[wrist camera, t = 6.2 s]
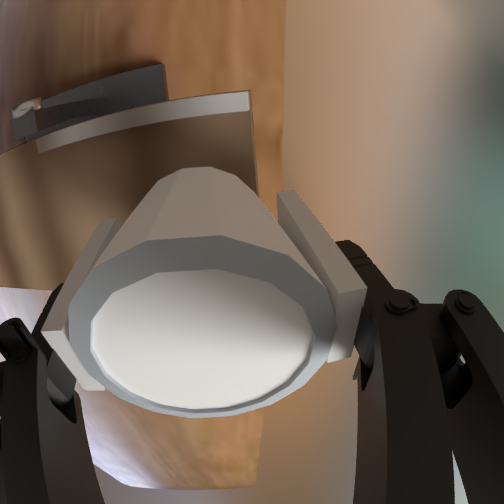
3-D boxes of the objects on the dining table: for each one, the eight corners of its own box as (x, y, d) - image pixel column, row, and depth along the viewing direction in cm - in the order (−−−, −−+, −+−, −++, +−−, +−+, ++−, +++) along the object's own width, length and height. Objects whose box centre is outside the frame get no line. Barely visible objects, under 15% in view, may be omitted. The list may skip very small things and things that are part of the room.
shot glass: (226, 309, 15) (243, 432, 9) (102, 255, 12) (53, 379, 7) (308, 203, 13) (389, 313, 7) (168, 120, 10) (116, 167, 4)
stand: (67, 250, 31) (24, 326, 20) (27, 109, 21) (-53, 136, 10) (190, 229, 32) (186, 311, 21) (164, 64, 23) (133, 47, 12)
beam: (-4, 269, 22) (-27, 296, 18) (-40, 175, 16) (-71, 195, 12) (265, 266, 19) (263, 315, 16) (252, 89, 13) (245, 92, 10)
